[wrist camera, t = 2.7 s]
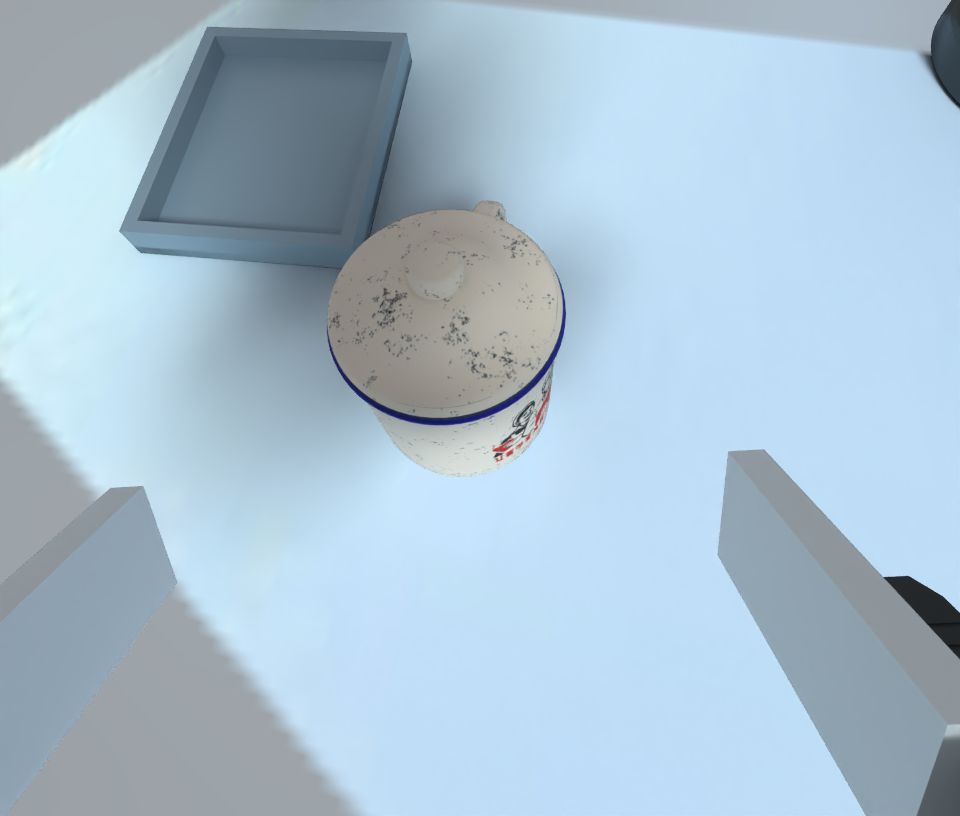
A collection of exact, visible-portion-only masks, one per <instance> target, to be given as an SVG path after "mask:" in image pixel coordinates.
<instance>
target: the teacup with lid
mask: <svg viewBox="0 0 960 816" xmlns="http://www.w3.org/2000/svg"><path fill="white" fill-rule="evenodd" d="M565 318H566V309H565V299H564V293H563V290H562V286H561V283H560V281H559V278H558V276H557V273H556V272H555V270H554V268H553V266H552V264H551V263H550V261H549V259H548V258H547V256H546V255H545V253H544V252H543V251H542V250H541V249H540V247H539V246H538V245H537V244H536V243H535V242H534V241H533V240H532V239H531V238H530V237H528V236H527V235H526V234H524V233H523V232H522V231H520V230H519V229H517V228H516V227H514V226H513V225H511V224H509V223H507V222H506V213H505V209H504V207H503V206H502V204H500V203H498V202H493V201H482V202H480V203H479V204H478V205H477V206H476V207H475V209H474V211H468V210H454V209H448V210H435V211H428V212H423V213H419V214H415V215H412V216H408V217H406V218H403V219H400V220H398V221H396V222H394V223H392V224H390V225H388V226H386V227H384V228H383V229H381V230H379V231H378V232H376V233H375V234H374V235H372V236H371V237H370V238H368V239H367V240H366V241H365V242H364V243H363V244H362V245H361V246H360V247H358V248H357V250H356V251H355V252H354V253H353V254H352V255H351V256H350V258H349V259H348V261H347V262H346V263H345V265H344V266H343V268H342V270H341V272H340V273H339V275H338V277H337V280H336V282H335V284H334V286H333V289H332V292H331V296H330V300H329V304H328V313H327V335H328V342H329V347H330V351H331V354H332V357H333V360H334V362H335V364H336V366H337V368H338V370H339V372H340V374H341V375H342V377H343V378H344V380H345V381H346V382H347V384H348V385H349V386H350V387H351V389H352V390H353V391H354V392H355V393H356V394H357V395H358V396H359V397H361V398H362V399H363V400H364V401H366V402H367V403H368V404H369V406H370V407H371V409H372V410H373V412H374V414H375V415H376V417H377V418H378V420H379V421H380V423H381V424H382V426H383V427H384V429H385V430H386V432H387V433H388V435H389V436H390V438H391V439H392V441H393V443H394V444H395V445H396V446H397V448H398V449H399V450H400V451H401V452H402V453H403V454H404V455H405V456H407V457H408V458H409V459H410V460H412V461H413V462H415V463H416V464H418V465H420V466H422V467H423V468H425V469H428V470H430V471H433V472H436V473H440V474H444V475H450V476H474V475H480V474H484V473H488V472H491V471H494V470H496V469H499V468H501V467H503V466H505V465H507V464H509V463H510V462H512V461H513V460H515V459H516V458H517V457H519V456H520V455H521V454H522V453H523V452H524V451H525V450H526V449H527V448H528V447H529V446H530V445H531V444H532V442H533V441H534V440H535V438H536V437H537V435H538V434H539V432H540V430H541V428H542V426H543V424H544V421H545V419H546V415H547V412H548V406H549V399H550V391H551V383H552V374H553V366H554V359H555V357H556V355H557V353H558V350H559V348H560V345H561V342H562V338H563V334H564V328H565Z"/></svg>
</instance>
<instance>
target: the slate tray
mask: <svg viewBox="0 0 960 816" xmlns="http://www.w3.org/2000/svg"><path fill="white" fill-rule="evenodd" d="M411 63H412V60H411V54H410V49H409V44H408V39H407V33H386V32H354V31H321V30H289V29H256V28H224V27H207V28H206V31H205V33H204V35H203V38H202V40H201V42H200V45H199V47H198V49H197V52H196V54H195V56H194V59H193V61H192V63H191V66H190V68H189V70H188V73H187V75H186V77H185V80H184V82H183V84H182V86H181V89H180V91H179V93H178V96H177V98H176V100H175V103H174V105H173V107H172V110H171V112H170V114H169V117H168V119H167V121H166V124H165V126H164V128H163V131H162V133H161V135H160V138H159V140H158V142H157V145H156V147H155V149H154V152H153V154H152V156H151V158H150V161H149V163H148V165H147V168H146V170H145V172H144V175H143V177H142V179H141V182H140V184H139V186H138V189H137V191H136V193H135V196H134V198H133V200H132V203H131V205H130V207H129V210H128V212H127V214H126V217H125V219H124V221H123V223H122V226H121V228H120V230H119V231H120V232H121V233H122V234H123V235H124V236H125V237H126V238H127V239H128V240H129V241H130V242H131V244H132V245H133V246H134V247H135V248H136V249H137V250H138V251H139V252H140V253H150V254H163V255H176V256H189V257H202V258H215V259H228V260H241V261H254V262H267V263H280V264H293V265H306V266H319V267H332V268H343V266H344V265H345V263H346V262H347V261H348V259H349V258H350V256H351V255H352V254H353V253H354V252H355V251H356V250H357V248H358V247H360V246H361V245H362V244H363V243H364V242H365V241H366V240H367V239H368V238H369V236H370V232H371V228H372V223H373V219H374V215H375V211H376V207H377V203H378V199H379V195H380V191H381V187H382V182H383V178H384V174H385V170H386V166H387V162H388V158H389V154H390V150H391V146H392V141H393V137H394V133H395V129H396V125H397V121H398V117H399V113H400V109H401V105H402V100H403V96H404V92H405V88H406V84H407V80H408V76H409V72H410V68H411Z"/></svg>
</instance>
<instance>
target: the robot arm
mask: <svg viewBox="0 0 960 816" xmlns="http://www.w3.org/2000/svg"><path fill="white" fill-rule="evenodd" d="M931 53H932V59H933V63H934V66H935V69H936V72H937V74H938V76H939V78H940V80H941V81H942V83H943V85H944V86H945V87H946V89H947V90H948V92H949V93H950V94H951V95H952V96H953V98H954V99H955V100H956V101H957V102H958V103H959V104H960V0H951V2H950V3H949V5H948V6H947V8H946V10H945V11H944V12H943V14H942V15H941V17H940V18H939V20H938V22H937V24H936V26H935V28H934V31H933V35H932V40H931ZM718 557H719V558H720V560H721V562H722V564H723V565H724V567H725V569H726V571H727V572H728V574H729V576H730V578H731V579H732V581H733V583H734V585H735V586H736V588H737V590H738V592H739V593H740V595H741V597H742V599H743V600H744V602H745V604H746V606H747V608H748V609H749V611H750V613H751V615H752V616H753V618H754V620H755V622H756V623H757V625H758V627H759V629H760V630H761V632H762V634H763V636H764V637H765V639H766V641H767V643H768V644H769V646H770V648H771V650H772V651H773V653H774V655H775V657H776V658H777V660H778V662H779V664H780V665H781V667H782V669H783V671H784V673H785V674H786V676H787V678H788V680H789V681H790V683H791V685H792V687H793V688H794V690H795V692H796V694H797V695H798V697H799V699H800V701H801V702H802V704H803V706H804V708H805V709H806V711H807V713H808V715H809V716H810V718H811V720H812V722H813V723H814V725H815V727H816V729H817V730H818V732H819V734H820V736H821V737H822V739H823V741H824V743H825V745H826V746H827V748H828V750H829V752H830V753H831V755H832V757H833V759H834V760H835V762H836V764H837V766H838V767H839V769H840V771H841V773H842V774H843V776H844V778H845V780H846V781H847V783H848V785H849V787H850V788H851V790H852V792H853V794H854V795H855V797H856V799H857V801H858V802H859V804H860V806H861V808H862V809H863V811H864V813H865V815H866V816H960V613H959V612H958V611H957V610H956V609H955V608H954V607H953V606H952V605H951V604H950V603H949V602H948V601H947V600H946V599H945V598H944V597H943V596H941V595H939V594H938V593H936V592H934V591H933V590H931V589H929V588H928V587H926V586H924V585H923V584H921V583H919V582H918V581H916V580H914V579H913V578H911V577H909V576H897V577H882V575H881V574H880V573H879V572H878V571H877V570H876V569H875V568H874V567H873V566H872V565H871V564H870V563H869V562H868V560H867V559H866V558H865V557H864V556H863V555H862V554H861V553H860V552H859V551H858V550H857V549H856V548H855V546H854V545H853V544H852V543H851V542H850V541H849V540H848V539H847V538H846V537H845V536H844V535H843V534H842V533H841V531H840V530H839V529H838V528H837V527H836V526H835V525H834V524H833V523H832V522H831V521H830V520H829V519H828V518H827V516H826V515H825V514H824V513H823V512H822V511H821V510H820V509H819V508H818V507H817V506H816V505H815V504H814V502H813V501H812V500H811V499H810V498H809V497H808V496H807V495H806V494H805V493H804V492H803V491H802V490H801V489H800V487H799V486H798V485H797V484H796V483H795V482H794V481H793V480H792V479H791V478H790V477H789V476H788V475H787V474H786V472H785V471H784V470H783V469H782V468H781V467H780V466H779V465H778V464H777V463H776V462H775V461H774V460H773V458H772V457H771V456H770V455H769V454H768V453H767V452H766V451H765V450H747V451H730V452H728V459H727V469H726V478H725V488H724V497H723V507H722V517H721V526H720V536H719V545H718ZM176 584H177V580H176V578H175V575H174V572H173V569H172V566H171V563H170V561H169V558H168V555H167V552H166V549H165V546H164V544H163V541H162V538H161V535H160V532H159V529H158V527H157V524H156V521H155V518H154V515H153V512H152V510H151V507H150V504H149V501H148V498H147V495H146V493H145V490H144V487H143V486H137V487H120V488H110V489H109V490H108V491H107V492H106V493H104V494H103V495H102V496H101V497H100V498H99V499H98V500H96V501H95V502H94V503H93V504H92V505H91V506H90V507H89V508H87V509H86V510H85V511H84V512H83V513H82V514H81V515H79V516H78V517H77V518H76V519H75V520H74V521H73V522H71V523H70V524H69V525H68V526H67V527H66V528H65V529H63V530H62V531H61V532H60V533H59V534H58V535H57V536H55V537H54V538H53V539H52V540H51V541H50V542H49V543H47V544H46V545H45V546H44V547H43V548H42V549H41V550H39V552H37V553H36V554H35V555H34V556H33V557H31V559H29V560H28V561H27V562H26V563H25V564H24V565H22V566H21V567H20V568H19V569H18V570H17V571H16V572H14V574H12V575H11V576H10V577H9V578H8V579H6V580H5V581H4V582H3V583H2V584H1V585H0V816H7V814H8V813H9V812H10V810H11V809H12V807H13V806H14V805H15V803H16V802H17V801H18V799H19V798H20V797H21V795H22V794H23V792H24V791H25V789H26V788H27V787H28V785H29V784H30V783H31V781H32V780H33V779H34V777H35V776H36V775H37V773H38V772H39V771H40V769H41V768H42V767H43V765H44V764H45V762H46V761H47V760H48V758H49V757H50V755H51V754H52V753H53V751H54V750H55V749H56V747H57V746H58V745H59V743H60V742H61V741H62V739H63V738H64V736H65V735H66V734H67V732H68V731H69V730H70V728H71V727H72V725H73V724H74V723H75V721H76V720H77V719H78V717H79V716H80V715H81V713H82V712H83V711H84V709H85V708H86V706H87V705H88V704H89V702H90V701H91V700H92V698H93V697H94V696H95V694H96V693H97V691H98V690H99V689H100V687H101V686H102V684H103V683H104V682H105V681H106V679H107V678H108V676H109V675H110V674H111V672H112V671H113V669H114V668H115V667H116V665H117V664H118V663H119V661H120V660H121V659H122V657H123V656H124V655H125V653H126V652H127V650H128V649H129V648H130V646H131V645H132V644H133V642H134V641H135V639H136V638H137V637H138V635H139V634H140V633H141V631H142V630H143V629H144V627H145V626H146V624H147V623H148V622H149V620H150V619H151V618H152V616H153V615H154V614H155V612H156V611H157V610H158V608H159V607H160V605H161V604H162V603H163V601H164V600H165V599H166V597H167V596H168V594H169V593H170V592H171V590H172V589H173V588H174V586H175V585H176Z"/></svg>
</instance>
